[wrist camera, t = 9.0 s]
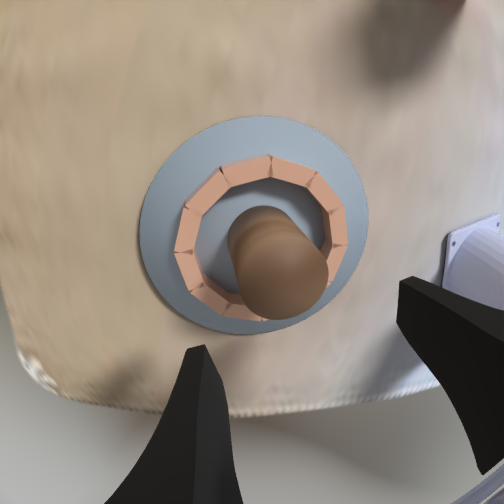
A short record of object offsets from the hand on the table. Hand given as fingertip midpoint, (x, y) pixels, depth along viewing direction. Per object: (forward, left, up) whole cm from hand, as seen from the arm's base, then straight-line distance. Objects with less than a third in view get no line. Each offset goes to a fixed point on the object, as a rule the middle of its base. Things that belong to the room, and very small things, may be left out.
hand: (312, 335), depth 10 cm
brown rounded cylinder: (0, 0, -8) cm, 8 cm away
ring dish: (0, 0, -9) cm, 9 cm away
